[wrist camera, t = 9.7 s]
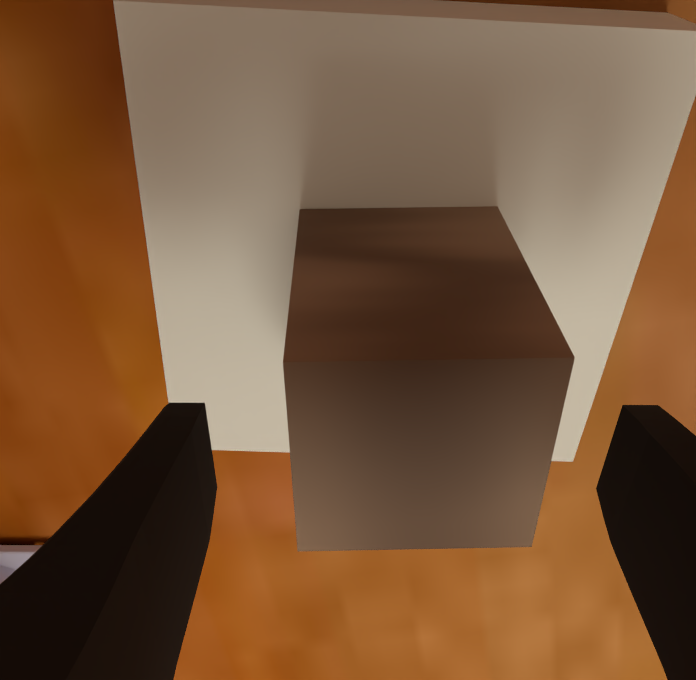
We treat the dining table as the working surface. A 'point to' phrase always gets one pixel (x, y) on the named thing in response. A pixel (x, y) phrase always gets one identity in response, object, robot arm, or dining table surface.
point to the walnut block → (418, 381)
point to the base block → (388, 162)
